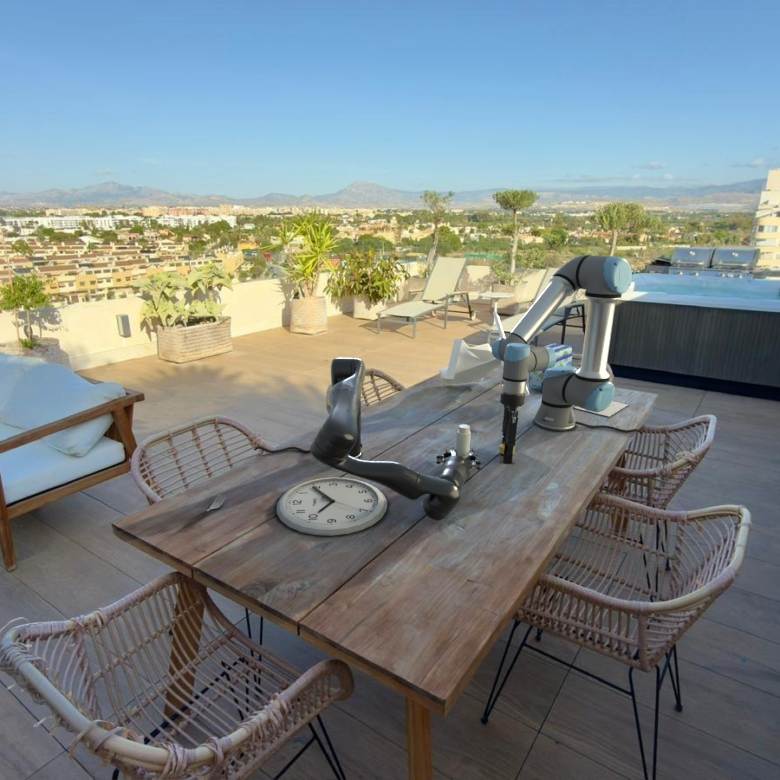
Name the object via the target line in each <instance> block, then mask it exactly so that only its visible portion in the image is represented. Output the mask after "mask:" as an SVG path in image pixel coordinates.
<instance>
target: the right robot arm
mask: <svg viewBox="0 0 780 780" xmlns="http://www.w3.org/2000/svg"><path fill="white" fill-rule="evenodd" d="M548 281H549V284H548V285H547V286H546V288H545V289H544V290H543V291H542V292H541V294H540V295H539V297H538V298H537V299H536V300H535V301H534V303H533V304H532V305H531V306H530V308H529V309H528V310H527V311H526V312H525V314H523V316H522V317H521V319H519V321H518V322H517V324H516V325H515V326H514V327H513V329H512V330H511V331H510V332H509V333H508V334H507V336H505V337H506V339H505V338H500V337H499V338H497V339H496V340H495V341H494V342H493V343H492V347H491V348H492V354H493V356H494V357H495V358H496V359H499V360H501V361H503V362H504V367H502V380H501V381H499V384H500V385H501V391H500V399H499V402H500V404H502V405H503V417H502V428H501V433H502V437H501V438H502V439H501V444H504V445H505V448H504V454H502V453H500V456H502V458H503V460H502V463H503V464H512V463H513V455H514V454H513V447H514V446H515V447H516V440H517V431H518V423H519V420H520V419H519V410H518V408H519V407H523V406H524V405H525V399H526V394H525V391H526V384H527V383H528V380H527V379H528V374H529V372H534V371H541V370H545V375H544V378H543V379H544V380H543V391H541V402H540V405H539V407H538V410H537V411H536V413H535V417H534V424H535V425H536V426H537V427H539V428H542V429H544V430H549V431H556V432H567V431H572V430H574V429H575V428H576V425H579V426H582V427H586V428H588V429H589V428H590V429H610V430H613V431H616V432H621V433H629V434H630V433H634V432H637V433H639V434H640V435H644V432H643V431H642V430H641V429H639V428H632V429H622V428H618V427H615V426H611V425H606V424H605V425H603V424H600V425H599V424H597V425H595V424H593V425H592V424H587V423H585V422H581V421H577V420H576V418H575V417H576V416H575V413H574V407H576V406H577V407H580V408H583V409H586V410H588V411H593V412H601V411H603V410H605V409H606V408H607V407H608V406H609V405H610V403H611V402H612V401H614V397H615V394H616V387H615V385H614V383H612V382H611V381H610V378H611V375H610V373H609V371H607V367H608V358H609V354H610V353H609V352H610V345H611V340H612V339H611V337H612V331H613V324H614V317H615V310H616V303H617V302H618V301H619V300H621V299H622V295H623V294H626V293H627V292H628V290H630V289H629V288H630V286H631V285H632V281H633V272H632V267H631V265H630V263H629V261H627V260H626V259H625V258H623V257H618V256H614V255H592V254H582V255H578V256H576V257H574V258H572V259H569V260H568V261H567V262H565V263H564V264H563V265H562V266H560V267H559V268H558V269H557V270H556V271H555V272H554V273H553V274H552V275H551V277H550V279H549V280H548ZM578 290H585V292H584V297H585V298H586V299H587V300H588V305H587V314H586V321H585V329H584V331H585V332H584V336H583V337H584V338H583V345H582V352H581V353H582V354H581V361H580V367H579V368H577V367H575V366H571V367H570V366H555V367H553V366H554V365H555V363H556V353H555V351H554V350H553V349H552V348H551V347H544V346H545V345H544V346H543V345H542V346H535V345H531V342H532V341H533V340H534V339H535V337H536V336H537V335H538V334H539V333H540V331H541V330H542V329H543V327H544V326H545V325H546V323H547V322H548V321H549V320H550V319H551V318H552V316H553V314H555V313H556V312H557V310H558V308H559V307H560V306H561V305H562V304H563V302H564V301H565V300H566V299H567V298H568V297H572V296H573V295H574V293H575V292H576V291H578ZM573 406H574V407H573ZM588 411H587V412H588Z"/></svg>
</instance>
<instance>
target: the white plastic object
mask: <svg viewBox="0 0 780 780" xmlns="http://www.w3.org/2000/svg"><path fill="white" fill-rule="evenodd" d="M492 315H493V319H494V321H495V324H496V325H495V326H496V328H497V332H498V335H499V338H505V339H506V337H507V336H506V334H505V331H504V328H503V325H502V321H501V318H500V315H499V314H498V312H497V311H496V310H495V311H492ZM500 366H502V368H503V367H504V362H503V361H501V360H499V359H496V358H495V357H494V356H493V354H492V347H491V346H490V344H489V343H488V342H487V343H483V344H479V345H473V346H469V345H468V343H466V342H465V340H464V339H463V338H460V339H458V338H454V340H453V344H452V349H451V353H450V357H449V362H448V366H446V367H444V368H442V369H440V370H439V371H438V372H439V376H440V381H442V383H443V384H444V385H445V386H449V385H458V384H467V383H468V384H469V383H473V384H477V383H480V382H482V381H484V378H485V377H486V376H487V375H489V374H490V373H492V372H494V371H495V370H496V369H497V368H499V367H500ZM524 394H525V397H528V396H531V395H530V390H529V386H528V384H527V383H526V391H525V393H524Z"/></svg>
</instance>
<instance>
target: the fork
mask: <svg viewBox="0 0 780 780" xmlns="http://www.w3.org/2000/svg"><path fill="white" fill-rule="evenodd" d="M226 497H227V495H225V494H222V493H221V494H218V496H217V497H216V498H215V499H214V501H213V503H212V504H211V505H210V506H209V508H208V509H206V510H204V511H202V512H201V513H200V514H198V515H196V516H195V517H194V518H193V519H191V520H190V521H189V522H188V523H186V524H185V525H184V526H183V527H182V529H186V528H188V527H189V526H190V525H191V526H192V524H194V523H195V522H197V521H199V520H200V519H202V518H203V517H204V516H205V515H206V514H207V513H208V512H209V511H211V510H215V509H216V510H217V509H219V508H220V507H221V506H222V505H223V503H224V501H225V499H226Z"/></svg>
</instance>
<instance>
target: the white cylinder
mask: <svg viewBox="0 0 780 780" xmlns="http://www.w3.org/2000/svg"><path fill="white" fill-rule="evenodd" d="M471 436H472V432H471V426H470V425H469V424H463V423H462V424H459V425H458V429H457V431H456V441H455V442H456V443H455V446H456V455H458V456H464V455H465V454H469V451H470V449H471V439H472V438H471Z"/></svg>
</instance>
